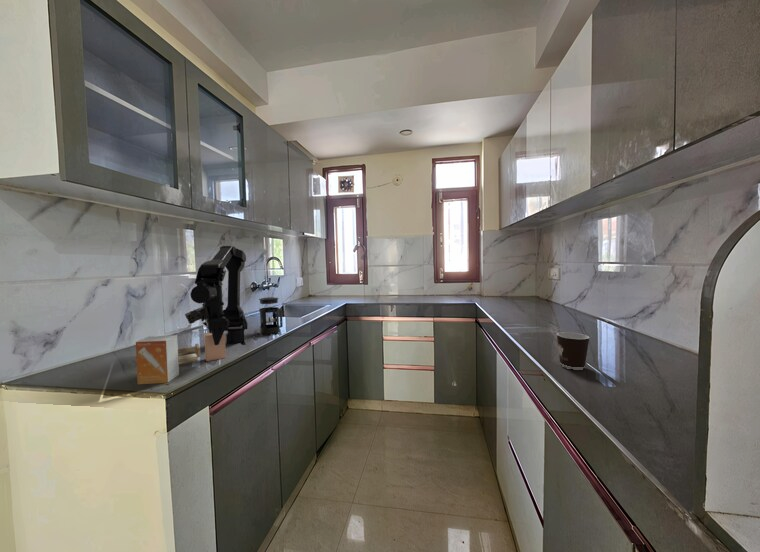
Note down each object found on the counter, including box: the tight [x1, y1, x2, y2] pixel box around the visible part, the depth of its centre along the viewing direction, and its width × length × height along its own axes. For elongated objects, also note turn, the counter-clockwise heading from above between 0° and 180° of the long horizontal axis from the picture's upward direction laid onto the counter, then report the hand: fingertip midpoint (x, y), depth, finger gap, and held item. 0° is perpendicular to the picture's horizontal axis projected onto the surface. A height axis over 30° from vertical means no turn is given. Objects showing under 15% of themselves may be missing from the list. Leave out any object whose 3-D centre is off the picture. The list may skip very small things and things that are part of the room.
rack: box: [178, 343, 202, 358], centre depth 111 cm, size 9×8×4 cm
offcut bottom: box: [179, 361, 198, 366], centre depth 105 cm, size 6×5×2 cm
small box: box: [135, 334, 180, 386], centre depth 89 cm, size 8×6×13 cm
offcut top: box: [178, 353, 199, 365], centre depth 105 cm, size 6×4×2 cm
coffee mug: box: [556, 331, 590, 367], centre depth 97 cm, size 12×9×10 cm
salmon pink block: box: [203, 332, 227, 362], centre depth 108 cm, size 6×3×9 cm, turn 127°
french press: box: [258, 285, 283, 336], centre depth 148 cm, size 12×9×23 cm
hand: (215, 343), depth 108 cm, fingers open, 5 cm apart
